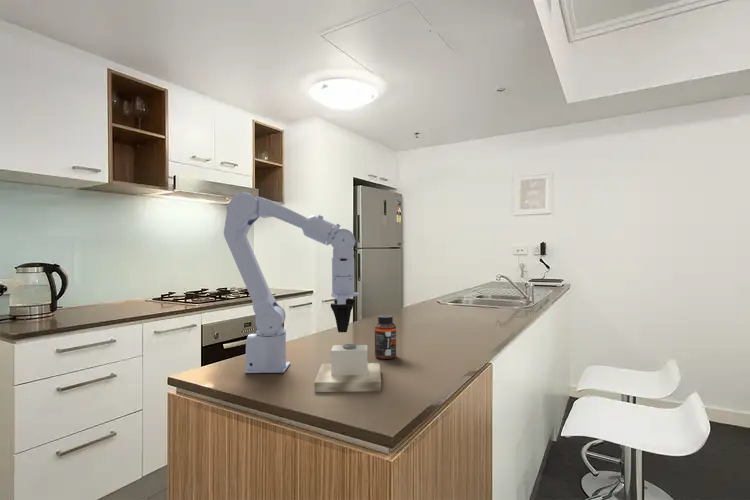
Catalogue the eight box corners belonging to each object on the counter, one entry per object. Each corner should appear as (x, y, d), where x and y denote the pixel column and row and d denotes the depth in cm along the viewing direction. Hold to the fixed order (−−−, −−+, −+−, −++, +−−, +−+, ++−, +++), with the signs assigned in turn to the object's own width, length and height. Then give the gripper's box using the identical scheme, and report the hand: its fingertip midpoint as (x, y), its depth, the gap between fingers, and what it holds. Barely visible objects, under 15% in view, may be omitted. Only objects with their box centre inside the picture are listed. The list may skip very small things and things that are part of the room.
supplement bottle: (394, 360, 110) (394, 318, 110) (372, 359, 111) (372, 317, 111) (397, 354, 116) (397, 314, 115) (377, 353, 117) (376, 314, 117)
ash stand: (314, 392, 86) (314, 382, 86) (322, 371, 100) (322, 363, 100) (381, 391, 86) (381, 381, 86) (379, 371, 100) (379, 363, 100)
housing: (331, 375, 91) (331, 348, 91) (333, 368, 96) (333, 343, 96) (367, 375, 91) (367, 348, 91) (367, 368, 96) (367, 342, 96)
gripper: (358, 277, 98) (358, 334, 98) (359, 273, 112) (359, 323, 112) (328, 278, 98) (328, 335, 98) (333, 274, 112) (334, 323, 112)
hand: (343, 329), depth 105 cm, fingers open, 7 cm apart
